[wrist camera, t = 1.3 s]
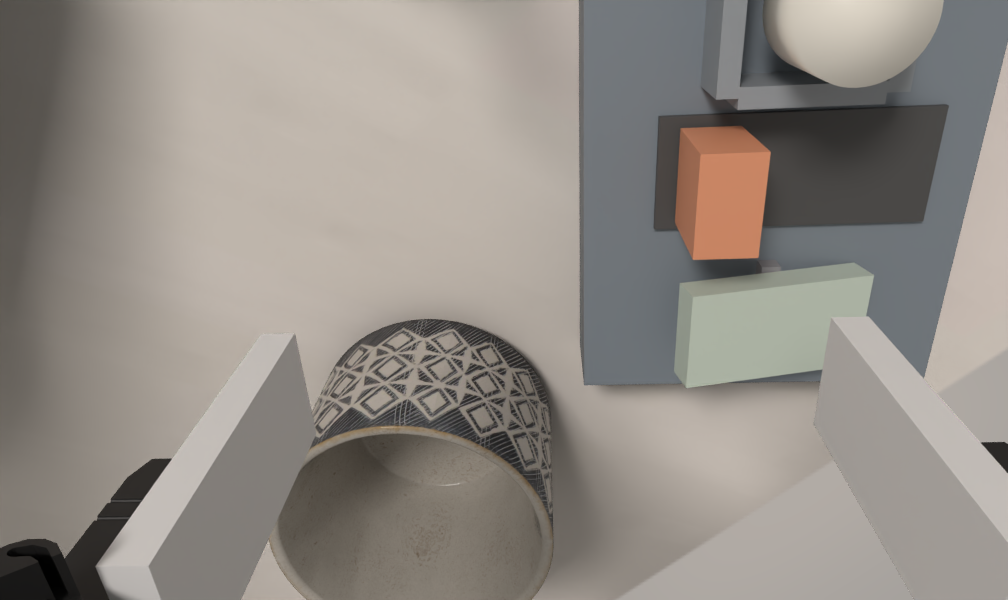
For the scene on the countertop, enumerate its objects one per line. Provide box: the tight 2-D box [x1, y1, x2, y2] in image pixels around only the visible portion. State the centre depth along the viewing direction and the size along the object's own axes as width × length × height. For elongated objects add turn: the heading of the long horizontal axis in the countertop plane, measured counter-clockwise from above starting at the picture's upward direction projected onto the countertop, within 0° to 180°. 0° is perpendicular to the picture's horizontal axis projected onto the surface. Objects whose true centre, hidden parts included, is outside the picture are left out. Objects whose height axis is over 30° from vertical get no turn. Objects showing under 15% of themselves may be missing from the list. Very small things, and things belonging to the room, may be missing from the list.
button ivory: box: [762, 0, 944, 88], centre depth 23 cm, size 4×4×4 cm
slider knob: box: [675, 126, 771, 260], centre depth 27 cm, size 2×4×4 cm, turn 3°
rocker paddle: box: [674, 263, 874, 388], centre depth 31 cm, size 8×4×1 cm, turn 93°
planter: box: [269, 319, 553, 600], centre depth 36 cm, size 13×13×10 cm
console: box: [579, 0, 1008, 385], centre depth 29 cm, size 16×28×7 cm, turn 3°
